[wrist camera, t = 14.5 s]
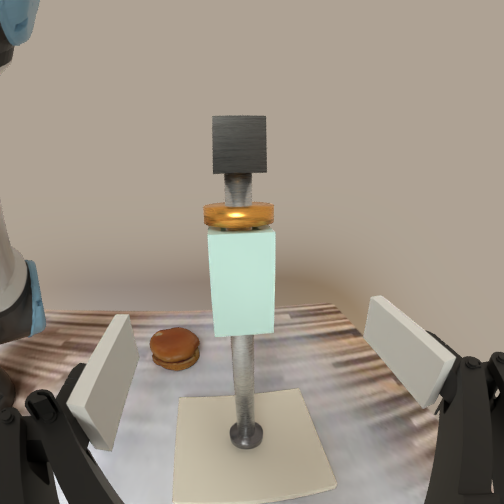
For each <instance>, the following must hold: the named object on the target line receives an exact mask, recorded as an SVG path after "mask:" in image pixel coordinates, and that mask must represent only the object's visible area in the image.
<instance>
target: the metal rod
mask: <svg viewBox="0 0 504 504" xmlns="http://www.w3.org/2000/svg"><path fill="white" fill-rule="evenodd" d="M212 121H213V123H212V124H213V125H212V126H213V127H212V131H213V174H224V181H225V182H224V183H225V202H224V203H215V204H209V205H205V206H204V207H203V208H204V223H205V224H206V225H208V226H213V227H222V228H226V231H248V230H252V227H257V226H264V225H268V224H271V223H273V222H274V205H273V204H270V203H263V202H252V173H266V172H267V161H266V160H267V157H266V156H267V155H266V154H267V153H266V116H213V118H212ZM231 348H232V363H233V377H234V391H235V404H236V416H237V422H236V423H235V424H233V425H232V427H231V428H230V432H229V433H230V440H231V442H232V444H233V445H234V446H236V447H237V448H240V449H253V448H255V447H257V446H259V445H260V444H261V442H262V440H263V429H262V427H261V426H260V425H259V424H258V423H257V422H255V411H254V334H253V335H239V336H231Z"/></svg>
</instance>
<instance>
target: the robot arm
mask: <svg viewBox="0 0 504 504" xmlns="http://www.w3.org/2000/svg"><path fill="white" fill-rule="evenodd" d="M39 2H40V0H0V75H1V74H2V73H3V72H4V71H5V69H6V68H7V67H8V66H9V65H10V63H11V62H12V56H13V51H14V46H15V45H17V46H19V45H20V44H22V43H24V42H26V41H27V40H28V39H29V38H30V36H31V33H32V30H33V27H34V21H35V17H36V13H37V10H38V6H39ZM45 327H46V319H45V313H44V308H43V303H42V298H41V292H40V286H39V281H38V275H37V270H36V265H35V263H34V262H33V261H32V260H31V261H28V260H24V258H23V256H22V255H21V253H20V252H19V251H18V250H16V249H15V248H13V247H12V246H11V245H10V241H9V237H8V233H7V229H6V225H5V221H4V216H3V211H2V206H1V201H0V344H4V343H7V342H11V341H14V340H18V339H21V338H24V337H32V335H34V334H37V333H40V332H42V331H43V330H44V329H45ZM363 338H364V339H365V340H366V341H367V342H368V343H369V345H370V346H371V347H372V348H373V349H374V350H375V352H376V353H377V354H378V355H379V356H380V358H381V359H382V360H383V361H384V362H385V363H386V365H387V366H388V367H389V368H390V369H391V371H392V372H393V373H394V374H395V375H396V377H397V378H398V379H399V380H400V381H401V383H402V384H403V385H404V386H405V387H406V389H407V390H408V391H409V392H410V393H411V395H412V396H413V397H414V398H415V399H416V401H417V402H418V403H419V404H420V406H421V407H422V408H425V407H427V406H430V405H432V404H434V403H435V401H436V399H437V397H438V395H439V394H440V395H441V396H442V397H443V399H442V401H441V402H440V404H439V406H438V408H437V410H436V411H435V414H434V415H436V414H437V413H438V411H439V410H440V414H439V415H440V416H439V427H438V436H437V444H436V451H435V457H434V463H433V468H432V473H431V478H430V483H429V487H428V491H427V495H426V499H425V503H424V504H504V353H502V352H495V353H493V354H492V355H491V358H490V360H489V361H488V362H483V363H482V362H480V360H478V359H477V358H475V357H471V356H469V357H468V356H467V357H463V358H462V357H461V356H460V355H458V354H457V353H456V352H455V351H454V350H453V349H451V348H450V347H449V346H448V345H445V343H444V342H443V341H441V339H440V338H438V337H437V336H436V335H435V334H433V333H431V332H429V331H425V330H423V329H422V328H421V327H420V326H419V325H418V324H416V323H415V322H414V321H413V320H412V319H410V318H409V317H408V316H407V315H405V314H404V313H403V312H402V311H400V310H399V309H398V308H397V307H395V306H394V305H393V304H392V303H391V302H389V301H388V300H387V299H386V298H384V297H383V296H381V295H380V296H374V297H371V299H370V305H369V310H368V316H367V321H366V326H365V332H364V336H363ZM138 360H139V353H138V349H137V346H136V342H135V338H134V334H133V330H132V326H131V321H130V317H129V314H116V315H115V316H114V318H113V320H112V321H111V323H110V325H109V326H108V328H107V330H106V331H105V333H104V335H103V336H102V338H101V340H100V341H99V343H98V345H97V347H96V348H95V350H94V352H93V354H92V356H91V357H90V359H89V361H88V363H87V364H84V363H79V364H78V365H77V366H76V367H74V368H73V369H72V371H71V372H70V374H69V376H68V379H66V381H65V383H64V385H63V386H62V388H61V390H60V392H59V394H58V395H57V397H56V399H55V397H54V395H53V394H52V392H50V391H48V390H43V389H41V390H36V391H34V392H32V393H31V394H30V395H29V396H28V397H27V399H26V401H25V407H26V408H27V410H28V412H29V413H30V415H31V416H21V414H20V413H19V411H18V410H17V409H16V408H14V407H11V406H12V404H13V401H14V398H15V388H14V385H13V383H12V381H11V379H10V378H9V376H8V374H7V373H6V372H5V371H4V370H3V369H2V368H1V366H0V504H59V499H58V495H57V490H56V486H55V480H54V475H53V472H54V474H55V476H56V479H57V481H58V483H59V485H60V487H61V489H62V491H63V493H64V495H65V497H66V499H67V501H68V503H69V504H124V503H123V501H122V500H121V499H120V497H119V496H118V494H117V493H116V492H115V490H114V489H113V487H112V486H111V484H110V483H109V482H108V480H107V479H106V477H105V475H104V474H103V472H102V471H101V469H100V468H99V466H98V464H97V463H96V461H95V459H94V458H93V456H92V454H91V452H90V451H89V450H88V448H87V447H88V444H89V441H90V442H91V444H92V445H93V446H94V448H95V449H100V450H105V451H111V452H112V449H113V445H114V441H115V437H116V433H117V429H118V426H119V422H120V418H121V415H122V411H123V408H124V405H125V401H126V398H127V395H128V391H129V388H130V385H131V382H132V379H133V375H134V372H135V369H136V366H137V363H138ZM497 389H499V391H500V394H499V396H498V397H497V398H496V397H495V393H496V391H497ZM492 480H493V488H494V493H492V492H491V484H492Z"/></svg>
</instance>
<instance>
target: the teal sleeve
mask: <svg viewBox="0 0 504 504" xmlns="http://www.w3.org/2000/svg"><path fill="white" fill-rule="evenodd" d="M275 234H276V233H275V231H274V230H273V229H272V228H270V226H269V225H264V226H257V227H252V230H248V231H226V228H222V227H213V226H209V228H208V252H209V268H210V283H211V296H212V309H213V321H214V332H215V337H223V336H239V335H253V334H265V333H274V301H275V300H274V297H275Z"/></svg>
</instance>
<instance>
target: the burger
mask: <svg viewBox="0 0 504 504" xmlns="http://www.w3.org/2000/svg"><path fill="white" fill-rule="evenodd" d="M199 344H200V341H199V339H198V337H197V336H196V335H195V334H194V333H192V332H191V331H189V330H187V329H184V328H179V327H178V328H171V329H166V330H160V331H158V332H156V334H154V335H153V336H152V338H151V340H150V348H151V351H152V353H153V355H152V358H153V361H154V362H155V363H156V364H157V365H161V366H162V367H164V368H166V369H170V370H174V371H178V370H183V369H186V368H189V367H191V366H192V365H194V364H195V363H196V362H197V360H198V358H199V350H198V346H199Z"/></svg>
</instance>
